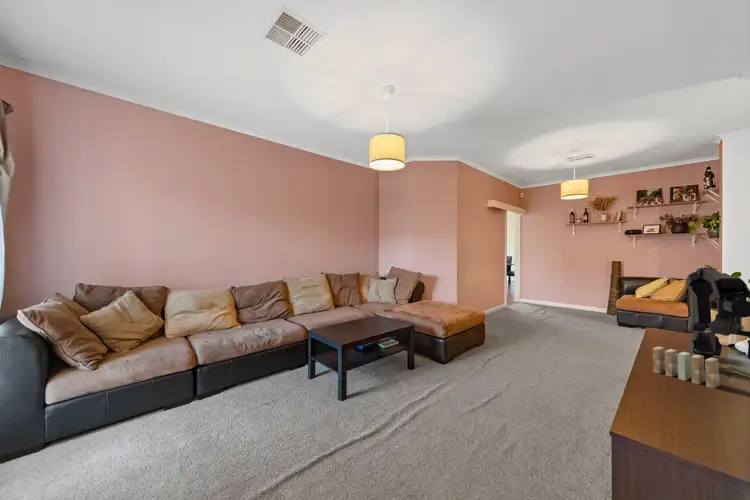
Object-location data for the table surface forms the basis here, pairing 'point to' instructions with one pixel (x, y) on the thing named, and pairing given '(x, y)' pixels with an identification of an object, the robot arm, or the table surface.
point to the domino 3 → (684, 366)
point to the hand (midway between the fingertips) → (730, 354)
